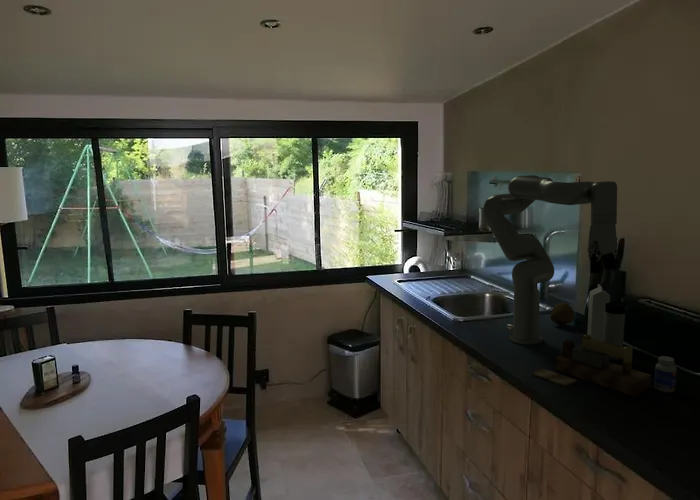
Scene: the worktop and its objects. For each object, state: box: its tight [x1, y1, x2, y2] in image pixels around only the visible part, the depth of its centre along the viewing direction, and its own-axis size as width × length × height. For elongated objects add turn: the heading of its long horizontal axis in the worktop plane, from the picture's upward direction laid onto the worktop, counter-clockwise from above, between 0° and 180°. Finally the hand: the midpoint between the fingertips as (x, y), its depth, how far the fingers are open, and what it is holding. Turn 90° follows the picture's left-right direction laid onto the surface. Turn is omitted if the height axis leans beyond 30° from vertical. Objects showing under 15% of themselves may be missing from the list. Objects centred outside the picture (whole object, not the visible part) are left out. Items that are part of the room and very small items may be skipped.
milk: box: [586, 283, 611, 341], centre depth 188 cm, size 6×6×22 cm
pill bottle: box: [653, 355, 678, 393], centre depth 147 cm, size 5×5×10 cm
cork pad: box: [531, 368, 577, 388], centre depth 158 cm, size 12×6×1 cm, turn 35°
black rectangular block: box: [571, 344, 610, 371], centre depth 158 cm, size 10×4×4 cm, turn 35°
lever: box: [581, 334, 634, 375], centre depth 154 cm, size 15×2×9 cm, turn 35°
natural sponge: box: [550, 302, 575, 327], centre depth 207 cm, size 9×9×10 cm
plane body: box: [553, 339, 653, 398], centre depth 156 cm, size 26×10×9 cm, turn 35°
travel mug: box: [603, 301, 628, 361], centre depth 172 cm, size 6×7×20 cm
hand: (602, 270), depth 162 cm, fingers open, 9 cm apart
